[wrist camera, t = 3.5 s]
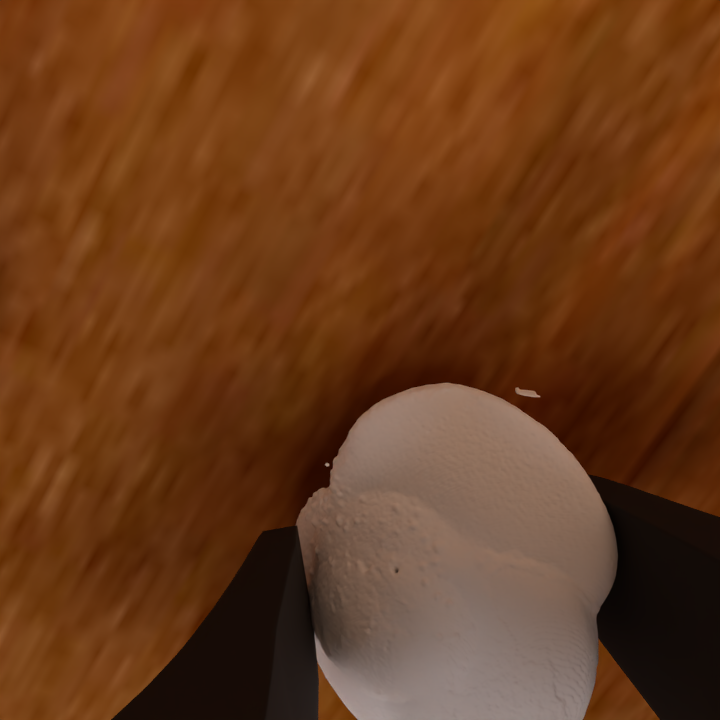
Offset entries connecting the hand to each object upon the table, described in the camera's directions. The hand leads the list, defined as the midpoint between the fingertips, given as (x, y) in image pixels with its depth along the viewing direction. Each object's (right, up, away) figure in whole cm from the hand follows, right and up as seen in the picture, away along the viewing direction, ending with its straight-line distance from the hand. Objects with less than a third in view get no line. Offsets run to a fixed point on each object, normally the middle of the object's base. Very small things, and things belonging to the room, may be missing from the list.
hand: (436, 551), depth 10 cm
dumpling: (0, 0, +2) cm, 2 cm away
